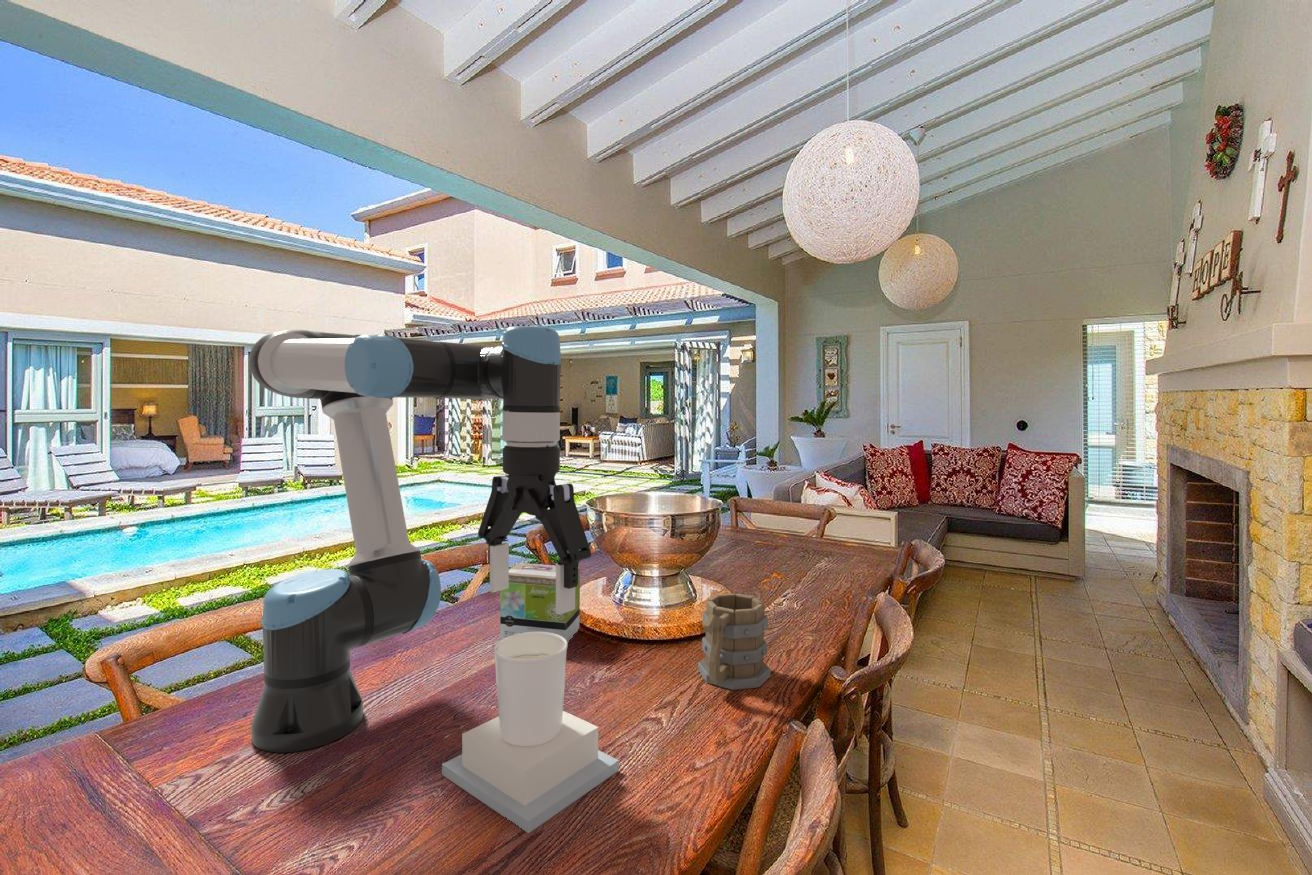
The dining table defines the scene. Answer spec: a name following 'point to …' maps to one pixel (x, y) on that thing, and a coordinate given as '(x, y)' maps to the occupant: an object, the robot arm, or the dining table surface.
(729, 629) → the tankard
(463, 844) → the dining table surface
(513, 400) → the robot arm
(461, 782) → the pedestal
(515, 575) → the tea box
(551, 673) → the candle holder
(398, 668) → the dining table surface
